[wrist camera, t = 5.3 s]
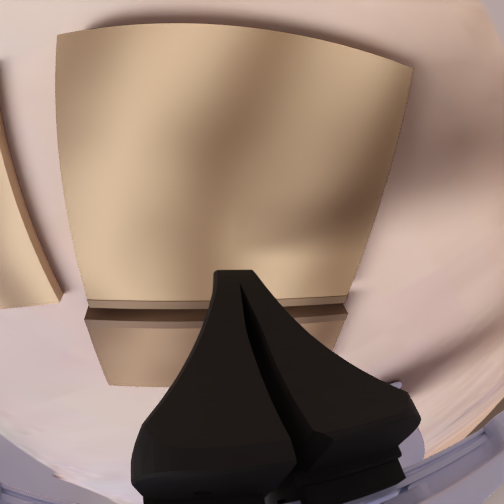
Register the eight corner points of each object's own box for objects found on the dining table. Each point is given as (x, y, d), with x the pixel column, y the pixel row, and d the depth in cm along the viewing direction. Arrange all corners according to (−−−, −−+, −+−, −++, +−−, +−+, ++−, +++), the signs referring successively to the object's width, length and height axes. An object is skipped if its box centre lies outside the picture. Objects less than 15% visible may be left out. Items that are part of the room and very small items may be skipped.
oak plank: (397, 65, 10) (414, 68, 9) (336, 287, 17) (344, 302, 16) (69, 36, 8) (56, 34, 7) (94, 290, 14) (89, 307, 13)
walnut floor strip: (340, 299, 18) (348, 313, 17) (315, 363, 21) (320, 376, 20) (89, 303, 15) (84, 319, 14) (110, 370, 18) (108, 385, 17)
